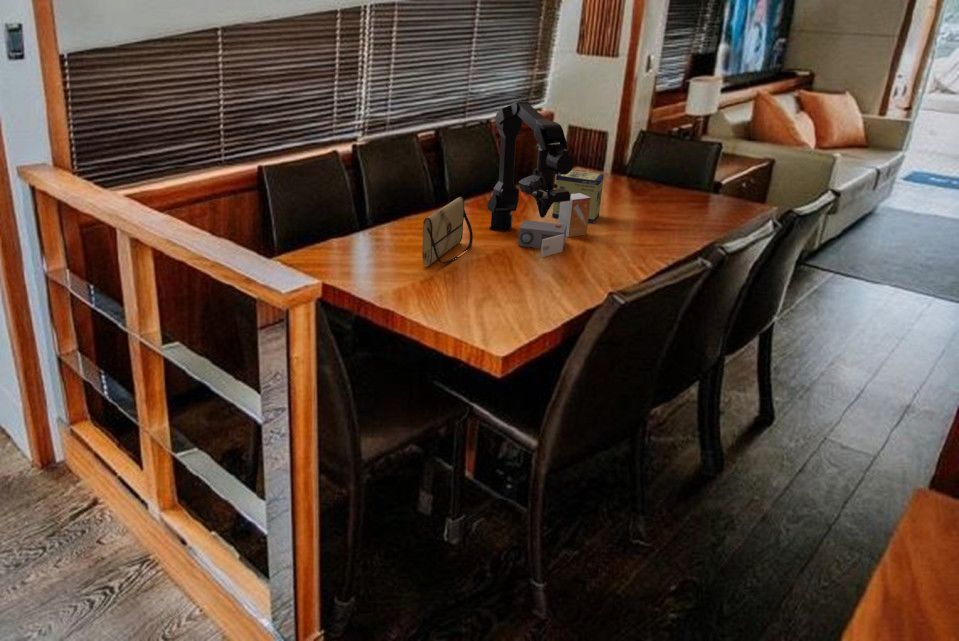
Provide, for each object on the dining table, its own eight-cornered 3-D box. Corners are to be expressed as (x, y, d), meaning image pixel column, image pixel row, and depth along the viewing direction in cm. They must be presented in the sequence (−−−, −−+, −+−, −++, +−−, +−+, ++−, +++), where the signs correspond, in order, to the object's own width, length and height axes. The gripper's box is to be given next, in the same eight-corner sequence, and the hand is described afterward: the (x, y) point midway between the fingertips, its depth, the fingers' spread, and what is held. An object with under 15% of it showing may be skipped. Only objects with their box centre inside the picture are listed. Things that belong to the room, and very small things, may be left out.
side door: (542, 257, 242) (544, 240, 240) (540, 256, 243) (541, 239, 241) (563, 251, 248) (565, 234, 246) (561, 250, 249) (563, 234, 247)
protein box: (594, 223, 278) (599, 180, 272) (551, 217, 283) (555, 174, 277) (599, 216, 288) (604, 174, 281) (558, 210, 292) (562, 168, 286)
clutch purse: (441, 272, 226) (443, 221, 220) (419, 268, 228) (420, 218, 222) (477, 243, 252) (479, 197, 246) (456, 240, 254) (458, 194, 248)
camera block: (517, 247, 250) (518, 227, 247) (522, 237, 259) (524, 218, 257) (561, 252, 247) (563, 232, 245) (565, 242, 257) (567, 222, 254)
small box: (568, 238, 262) (572, 199, 256) (556, 232, 266) (560, 194, 261) (587, 234, 266) (591, 197, 261) (575, 229, 271) (579, 192, 265)
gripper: (506, 162, 238) (503, 212, 245) (543, 176, 224) (538, 228, 230) (536, 159, 244) (532, 208, 250) (574, 172, 230) (569, 224, 236)
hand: (542, 217), depth 242 cm, fingers closed
